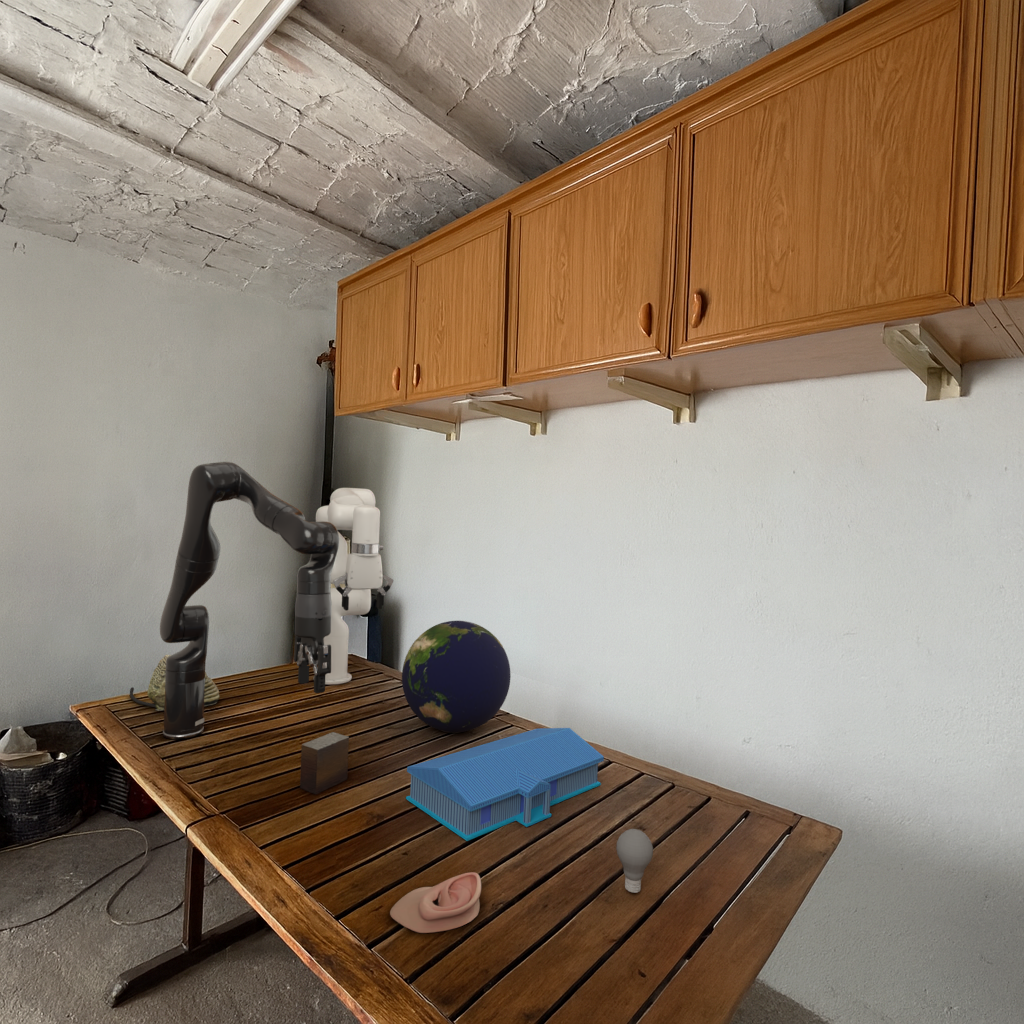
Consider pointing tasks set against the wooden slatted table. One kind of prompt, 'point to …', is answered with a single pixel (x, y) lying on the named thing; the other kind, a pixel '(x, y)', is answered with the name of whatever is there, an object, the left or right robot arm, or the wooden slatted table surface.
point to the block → (324, 762)
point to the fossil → (158, 687)
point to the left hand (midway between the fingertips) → (311, 687)
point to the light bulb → (634, 857)
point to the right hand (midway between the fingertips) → (362, 608)
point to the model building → (504, 780)
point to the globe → (456, 676)
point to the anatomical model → (440, 905)
